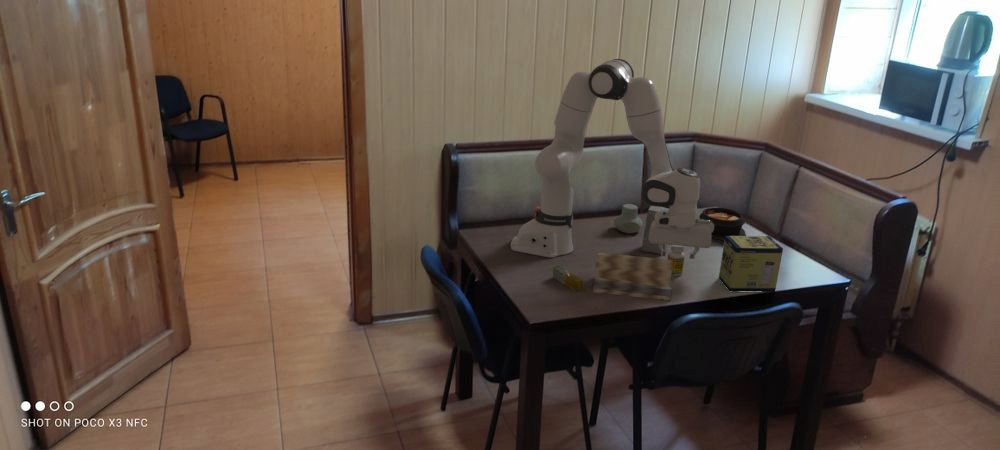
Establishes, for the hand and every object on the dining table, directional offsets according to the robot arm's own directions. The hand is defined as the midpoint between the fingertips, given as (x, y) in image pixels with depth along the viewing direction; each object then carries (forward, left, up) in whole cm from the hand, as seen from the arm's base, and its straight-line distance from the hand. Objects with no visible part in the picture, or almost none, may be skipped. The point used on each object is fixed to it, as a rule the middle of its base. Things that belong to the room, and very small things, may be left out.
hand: (677, 257), depth 241 cm
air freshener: (-16, +36, -6) cm, 40 cm away
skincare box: (-6, +19, -6) cm, 21 cm away
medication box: (-35, -17, -6) cm, 39 cm away
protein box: (+23, -3, -6) cm, 24 cm away
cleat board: (-14, -16, -6) cm, 22 cm away
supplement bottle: (0, 0, -6) cm, 6 cm away
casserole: (+19, +42, -6) cm, 47 cm away
